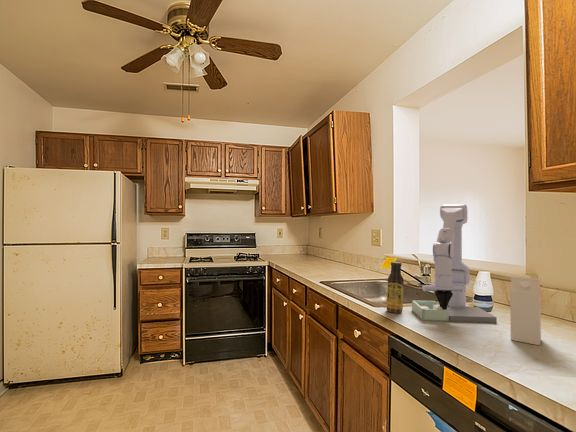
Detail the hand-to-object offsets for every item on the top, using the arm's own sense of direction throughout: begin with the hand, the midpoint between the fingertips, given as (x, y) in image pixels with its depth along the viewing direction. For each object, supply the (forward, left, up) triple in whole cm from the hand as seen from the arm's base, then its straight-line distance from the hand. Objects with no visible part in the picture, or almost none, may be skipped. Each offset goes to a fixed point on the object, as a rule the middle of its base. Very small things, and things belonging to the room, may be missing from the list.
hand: (443, 310), depth 123 cm
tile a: (-7, -6, 0) cm, 9 cm away
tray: (-4, -4, -3) cm, 6 cm away
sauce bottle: (-8, -16, -3) cm, 18 cm away
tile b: (0, -1, 0) cm, 1 cm away
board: (-4, +9, -3) cm, 10 cm away
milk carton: (+20, +17, -3) cm, 27 cm away
